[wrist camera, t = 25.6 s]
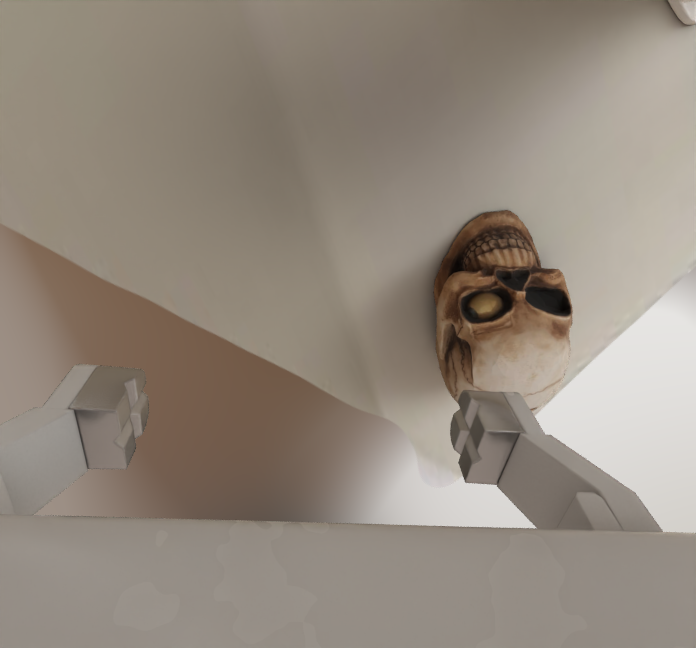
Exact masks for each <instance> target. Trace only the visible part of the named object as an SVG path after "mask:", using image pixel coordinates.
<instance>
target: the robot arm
mask: <svg viewBox="0 0 696 648" xmlns="http://www.w3.org/2000/svg"><path fill="white" fill-rule="evenodd" d="M668 2H669V4H670V5H671V7H672V9H673V10H674V12H675V14H676V15H677V17H678V18H679V19H680V20H681V21H682V22H683V23H684V24H686V25H693V24H696V0H668ZM145 384H146V377H145V372H144V371H143V370H142V369H135V368H123V367H112V366H97V365H83V364H78V365H75V366H73V367H72V369H71V370H70V371H69V372H68V374H67V375H66V376H65V378H64V379H63V380H62V382H61V383H60V384H59V386H58V387H57V388H56V390H55V391H54V392H53V394H52V395H51V396H50V397H49V399H48V400H47V401H46V403H45V404H44V405H43V407H42V408H33V409H31V410H29V411H27V412H25V413H23V414H21V415H18V416H16V417H15V418H12V419H10V420H8V421H6V422H4V423H2V424H1V425H0V648H696V533H677V532H663V531H662V529H661V528H660V527H659V525H658V524H657V522H656V521H655V520H654V518H653V517H652V516H651V514H650V513H649V511H648V510H647V508H646V507H645V506H644V504H643V503H642V501H641V500H640V499H639V497H638V496H637V495H636V493H635V492H633V491H632V490H630V489H629V488H627V487H626V486H624V485H623V484H622V483H620V482H619V481H617V480H616V479H614V478H613V477H611V476H610V475H608V474H607V473H605V472H604V471H603V470H601V469H600V468H598V467H597V466H595V465H594V464H592V463H591V462H589V461H588V460H586V459H585V458H584V457H582V456H581V455H579V454H578V453H576V452H575V451H573V450H572V449H570V448H569V447H567V446H566V445H565V444H563V443H561V442H560V441H559V440H557V439H556V438H554V437H553V436H551V435H545V433H544V432H543V430H542V428H541V427H540V425H539V423H538V422H537V420H536V418H535V417H534V415H533V413H532V412H531V410H530V408H529V407H528V405H527V403H526V402H525V400H524V398H523V397H522V395H521V394H520V393H518V392H501V391H500V392H491V391H474V390H463V391H462V392H461V394H460V396H459V399H458V403H459V406H460V410H458V411H457V412H456V413H454V415H453V418H452V422H451V430H450V435H451V442H452V445H453V448H454V450H456V451H457V452H458V453H459V454H460V455H461V456H460V459H459V462H458V463H459V465H460V468H461V471H462V474H463V477H464V480H465V482H466V483H478V484H494V485H497V487H498V488H499V489H500V490H501V491H502V492H503V493H504V494H505V495H506V496H507V497H508V498H509V499H510V500H511V501H512V503H514V505H516V507H517V508H518V509H519V510H520V511H521V512H522V513H523V514H524V515H525V516H526V517H527V518H528V519H529V520H530V521H531V522H532V523H533V524H534V525H535V526H536V527H537V529H533V528H530V529H529V528H491V527H453V526H418V525H384V524H348V523H312V522H274V521H236V520H201V519H198V520H197V519H163V518H127V517H125V518H124V517H90V516H54V515H53V516H51V515H34V514H35V513H36V512H38V511H39V510H40V509H41V508H42V507H44V506H45V505H46V504H47V503H49V502H50V501H51V500H52V499H53V498H55V497H56V496H57V495H59V494H60V493H61V492H62V491H64V490H65V489H66V488H67V487H69V486H70V485H71V484H72V483H74V482H75V481H76V480H77V479H78V478H80V477H81V476H82V475H83V474H85V473H86V472H87V471H88V469H127V467H128V465H129V462H130V460H131V458H132V456H133V454H134V452H135V449H136V443H135V439H136V438H137V437H139V436H140V435H142V434H143V431H144V429H145V426H146V423H147V419H148V414H149V400H148V396H147V395H146V394H145V393H144V392H143V391H142V390H143V388H144V386H145Z"/></svg>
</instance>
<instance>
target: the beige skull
mask: <svg viewBox="0 0 696 648" xmlns="http://www.w3.org/2000/svg"><path fill="white" fill-rule="evenodd" d="M434 297H435V303H436V308H437V312H436V314H437V326H436V335H437V337H436V353H437V357H438V362H439V367H440V370H441V374H442V377H443V379H444V382H445V385H446V387H447V389H448V391H449V393H450V394H451V396H452V397H453V398H454V399H455V401H456V402H457V403H458V399H459V396H460V394H461V392H462V391H463V390H474V391H491V392H500V391H501V392H518V393H520V394H521V395H522V397H523V398H524V400H525V402H526V403H527V405H528V407H529V408H530V410H531V412H532V411H534V410H535V409H537V408H538V407H540V406H541V405H543V404H545V403H546V402H547V401H548V400H549V399H550V398H551V397H552V396H553V395H554V394H555V393H556V391H557V390H558V389H559V387H560V385H561V383H562V381H563V378H564V375H565V372H566V369H567V366H568V362H569V357H570V340H569V332H570V328H571V325H572V312H573V310H572V305H571V300H570V296H569V293H568V290H567V287H566V283H565V279H564V276H563V274H562V272H561V271H560V270H559V269H544V268H541V263H540V260H539V257H538V253H537V251H536V248H535V246H534V243H533V240H532V237H531V235H530V233H529V231H528V229H527V228H526V227H525V225H524V224H523V222H522V221H521V220H520V219H519V218H518V216H517V215H515V214H514V213H512V212H511V211H508V210H505V211H499V212H487V213H483V214H481V215H480V216H479V217H477V218H476V219H474V220H472V221H470V222H469V223H468V224H467V225H466V226H465V227H464V228H463V229H462V231H461V232H460V233H459V235H458V236H457V238H456V239H455V241H454V242H453V244H452V246H451V248H450V251H449V253H448V254H447V255H446V257H445V258H444V260H443V261H442V264H441V268H440V270H439V272H438V274H437V277H436V279H435V285H434ZM458 404H459V403H458Z"/></svg>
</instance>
